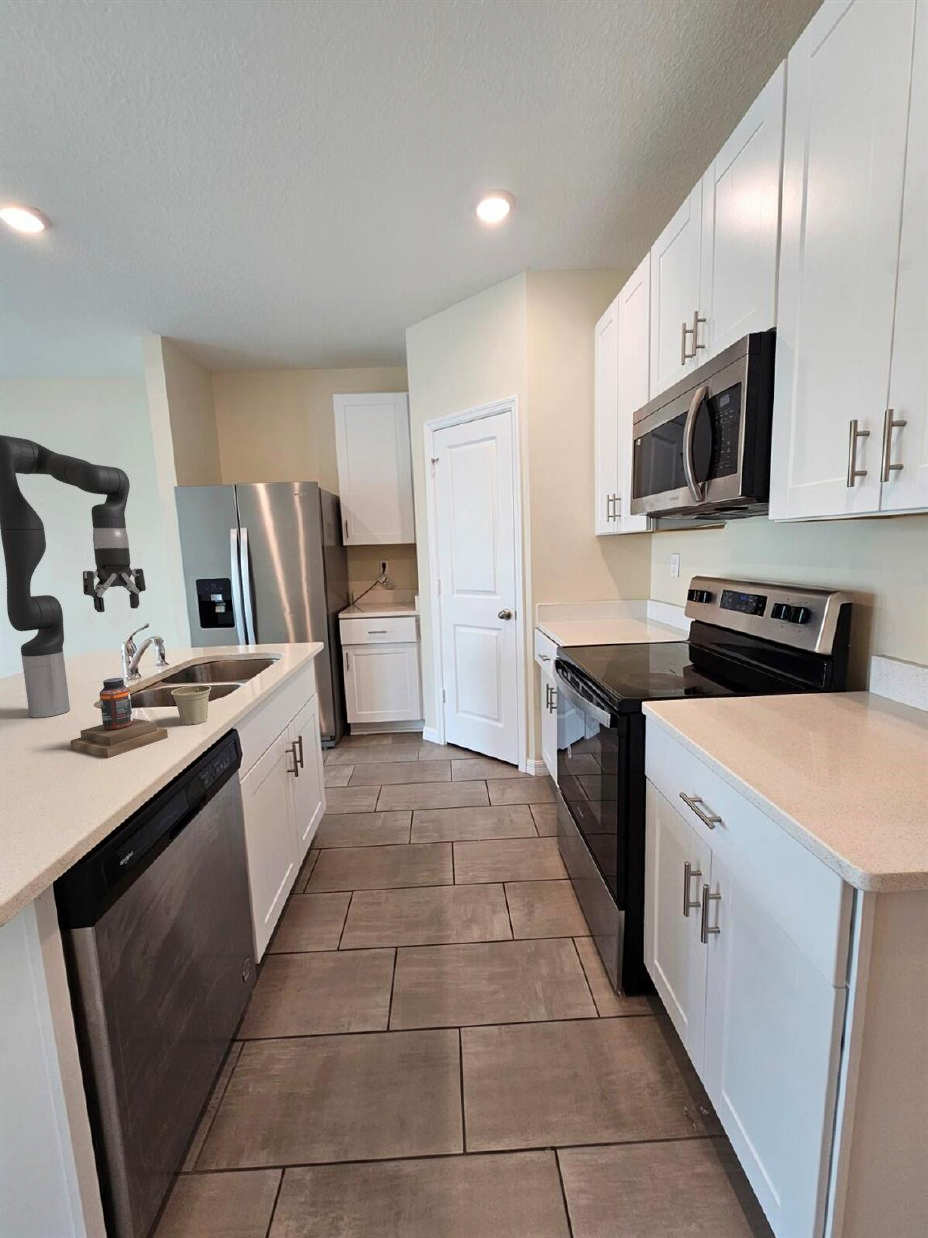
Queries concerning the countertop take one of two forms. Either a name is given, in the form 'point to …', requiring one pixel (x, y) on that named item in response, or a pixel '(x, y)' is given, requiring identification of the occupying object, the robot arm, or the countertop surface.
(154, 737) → the base
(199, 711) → the flower pot
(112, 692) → the supplement bottle
